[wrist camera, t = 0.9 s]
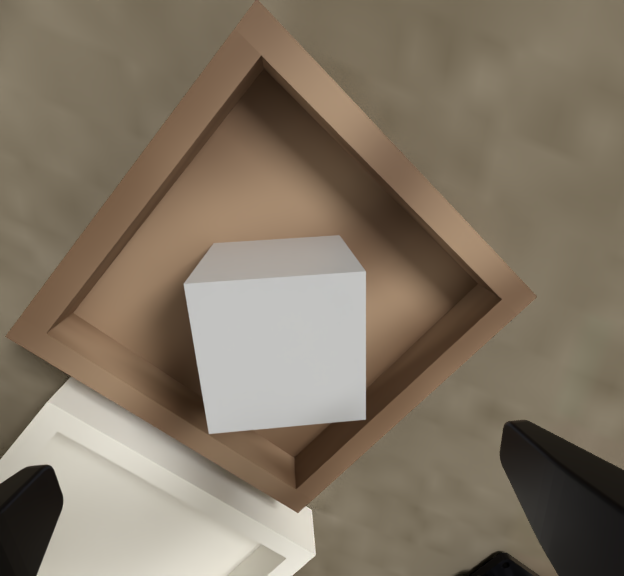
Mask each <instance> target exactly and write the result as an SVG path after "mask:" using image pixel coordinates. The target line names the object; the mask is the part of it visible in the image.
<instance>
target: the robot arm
mask: <svg viewBox="0 0 624 576" xmlns="http://www.w3.org/2000/svg"><path fill="white" fill-rule="evenodd" d="M500 460H501V463H502V466H503V468H504V470H505V473H506V475H507V477H508V479H509V481H510V483H511V485H512V487H513V489H514V491H515V493H516V496H517V498H518V500H519V502H520V504H521V506H522V508H523V510H524V512H525V514H526V517H527V519H528V521H529V523H530V525H531V527H532V529H533V531H534V533H535V535H536V537H537V539H538V541H539V543H540V545H541V546H542V548H543V550H544V552H545V553H546V555H547V557H548V559H549V560H550V562H551V564H552V565H553V567H554V569H555V570H556V572H557V574H558V575H559V576H624V470H623V469H621V468H619V467H617V466H615V465H613V464H611V463H609V462H607V461H605V460H603V459H601V458H599V457H597V456H595V455H594V454H592V453H590V452H588V451H586V450H584V449H582V448H580V447H578V446H576V445H574V444H572V443H570V442H568V441H566V440H565V439H563V438H561V437H559V436H557V435H555V434H553V433H551V432H549V431H547V430H545V429H543V428H541V427H539V426H537V425H536V424H534V423H532V422H530V421H527V420H516V421H508V422H506V423H505V425H504V428H503V434H502V441H501V447H500ZM63 501H64V500H63V494H62V491H61V488H60V485H59V482H58V479H57V476H56V474H55V471H54V469H53V467H52V466H50V465H47V464H45V465H34V466H28V467H25V468H23V469H21V470H20V471H18V472H17V473H15V474H14V475H12V476H11V477H9V478H8V479H6V480H5V481H3V482H2V483H0V576H37V574H38V571H39V568H40V566H41V563H42V561H43V558H44V555H45V553H46V550H47V548H48V545H49V542H50V540H51V537H52V535H53V532H54V529H55V527H56V524H57V522H58V519H59V516H60V514H61V511H62V508H63ZM470 576H539V575H538V574H536V573H535V572H533V571H532V570H531V569H529V568H528V567H526V566H525V565H524V564H522V563H521V562H519V561H518V560H516V559H515V558H514V557H512V556H511V555H509V554H508V553H500V554H498V555H497V556H495V557H494V558H493V559H491V560H490V561H489V562H487V563H486V564H485V565H483V566H482V567H481V568H479V569H478V570H477V571H475V572H474V573H473V574H471V575H470Z"/></svg>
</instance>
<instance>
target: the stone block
mask: <svg viewBox="0 0 624 576" xmlns="http://www.w3.org/2000/svg"><path fill="white" fill-rule="evenodd" d="M184 289H185V295H186V301H187V307H188V313H189V319H190V325H191V331H192V337H193V343H194V349H195V355H196V360H197V366H198V372H199V378H200V384H201V390H202V396H203V402H204V408H205V414H206V420H207V426H208V431H209V434H214V433H225V432H236V431H247V430H258V429H269V428H280V427H290V426H301V425H312V424H323V423H334V422H345V421H356V420H366V271H365V269H364V268H363V267H362V265H361V264H360V263H359V261H358V260H357V258H356V257H355V256H354V254H353V253H352V252H351V250H350V249H349V247H348V246H347V245H346V243H345V242H344V241H343V239H342V238H341V236H340V235H335V236H319V237H303V238H288V239H272V240H256V241H240V242H224V243H213V245H212V246H211V247H210V249H209V250H208V252H207V253H206V254H205V256H204V257H203V258H202V260H201V261H200V262H199V264H198V265H197V266H196V268H195V269H194V270H193V272H192V273H191V275H190V276H189V277H188V279H187V280H186V281H185V283H184Z"/></svg>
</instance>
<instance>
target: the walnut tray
mask: <svg viewBox="0 0 624 576" xmlns="http://www.w3.org/2000/svg"><path fill="white" fill-rule="evenodd" d="M335 235H340V236H341V238H342V239H343V241H344V242H345V243H346V245H347V246H348V247H349V249H350V250H351V252H352V253H353V254H354V256H355V257H356V258H357V260H358V261H359V263H360V264H361V265H362V267H363V268H364V269H365V271H366V420H356V421H345V422H334V423H323V424H312V425H301V426H290V427H280V428H269V429H258V430H247V431H236V432H225V433H214V434H209V431H208V426H207V420H206V414H205V408H204V402H203V396H202V390H201V384H200V378H199V372H198V366H197V360H196V355H195V349H194V343H193V337H192V331H191V325H190V319H189V313H188V307H187V301H186V295H185V289H184V283H185V281H186V280H187V279H188V277H189V276H190V275H191V273H192V272H193V270H194V269H195V268H196V266H197V265H198V264H199V262H200V261H201V260H202V258H203V257H204V256H205V254H206V253H207V252H208V250H209V249H210V247H211V246H212V245H213V243H224V242H240V241H256V240H272V239H288V238H303V237H319V236H335ZM535 298H537V296H536V295H535V294H534V293H533V292H532V291H531V290H530V288H529V287H528V286H527V285H526V284H525V283H524V282H523V281H522V280H521V279H520V278H519V277H518V276H517V275H516V274H515V273H514V271H513V270H512V269H511V268H510V267H509V266H508V265H507V264H506V263H505V262H504V261H503V260H502V259H501V258H500V257H499V256H498V254H497V253H496V252H495V251H494V250H493V249H492V248H491V247H490V246H489V245H488V244H487V243H486V242H485V241H484V240H483V238H482V237H481V236H480V235H479V234H478V233H477V232H476V231H475V230H474V229H473V228H472V227H471V226H470V225H469V224H468V223H467V221H466V220H465V219H464V218H463V217H462V216H461V215H460V214H459V213H458V212H457V211H456V210H455V209H454V208H453V207H452V206H451V204H450V203H449V202H448V201H447V200H446V199H445V198H444V197H443V196H442V195H441V194H440V193H439V192H438V191H437V190H436V189H435V187H434V186H433V185H432V184H431V183H430V182H429V181H428V180H427V179H426V178H425V177H424V176H423V175H422V174H421V173H420V172H419V170H418V169H417V168H416V167H415V166H414V165H413V164H412V163H411V162H410V161H409V160H408V159H407V158H406V157H405V156H404V155H403V153H402V152H401V151H400V150H399V149H398V148H397V147H396V146H395V145H394V144H393V143H392V142H391V141H390V140H389V139H388V138H387V136H386V135H385V134H384V133H383V132H382V131H381V130H380V129H379V128H378V127H377V126H376V125H375V124H374V123H373V122H372V121H371V119H370V118H369V117H368V116H367V115H366V114H365V113H364V112H363V111H362V110H361V109H360V108H359V107H358V106H357V105H356V104H355V102H354V101H353V100H352V99H351V98H350V97H349V96H348V95H347V94H346V93H345V92H344V91H343V90H342V89H341V88H340V87H339V85H338V84H337V83H336V82H335V81H334V80H333V79H332V78H331V77H330V76H329V75H328V74H327V73H326V72H325V71H324V70H323V68H322V67H321V66H320V65H319V64H318V63H317V62H316V61H315V60H314V59H313V58H312V57H311V56H310V55H309V54H308V53H307V51H306V50H305V49H304V48H303V47H302V46H301V45H300V44H299V43H298V42H297V41H296V40H295V39H294V38H293V37H292V36H291V34H290V33H289V32H288V31H287V30H286V29H285V28H284V27H283V26H282V25H281V24H280V23H279V22H278V21H277V20H276V19H275V17H274V16H273V15H272V14H271V13H270V12H269V11H268V10H267V9H266V8H265V7H264V6H263V5H262V4H261V3H260V2H259V0H255V2H254V3H253V4H252V6H251V7H250V8H249V10H248V11H247V12H246V14H245V15H244V16H243V18H242V19H241V20H240V22H239V23H238V25H237V26H236V27H235V29H234V30H233V31H232V33H231V34H230V35H229V37H228V38H227V39H226V41H225V42H224V43H223V45H222V46H221V47H220V49H219V50H218V51H217V53H216V54H215V55H214V57H213V58H212V59H211V61H210V62H209V63H208V65H207V66H206V67H205V69H204V70H203V72H202V73H201V74H200V76H199V77H198V78H197V80H196V81H195V82H194V84H193V85H192V86H191V88H190V89H189V90H188V92H187V93H186V94H185V96H184V97H183V98H182V100H181V101H180V102H179V104H178V105H177V106H176V108H175V109H174V110H173V112H172V113H171V115H170V116H169V117H168V119H167V120H166V121H165V123H164V124H163V125H162V127H161V128H160V129H159V131H158V132H157V133H156V135H155V136H154V137H153V139H152V140H151V141H150V143H149V144H148V145H147V147H146V148H145V149H144V151H143V152H142V153H141V155H140V156H139V158H138V159H137V160H136V162H135V163H134V164H133V166H132V167H131V168H130V170H129V171H128V172H127V174H126V175H125V176H124V178H123V179H122V180H121V182H120V183H119V184H118V186H117V187H116V188H115V190H114V191H113V192H112V194H111V195H110V196H109V198H108V199H107V201H106V202H105V203H104V205H103V206H102V207H101V209H100V210H99V211H98V213H97V214H96V215H95V217H94V218H93V219H92V221H91V222H90V223H89V225H88V226H87V227H86V229H85V230H84V231H83V233H82V234H81V235H80V237H79V238H78V239H77V241H76V242H75V244H74V245H73V246H72V248H71V249H70V250H69V252H68V253H67V254H66V256H65V257H64V258H63V260H62V261H61V262H60V264H59V265H58V266H57V268H56V269H55V270H54V272H53V273H52V274H51V276H50V277H49V278H48V280H47V281H46V282H45V284H44V285H43V286H42V288H41V289H40V291H39V292H38V293H37V295H36V296H35V297H34V299H33V300H32V301H31V303H30V304H29V305H28V307H27V308H26V309H25V311H24V312H23V313H22V315H21V316H20V317H19V319H18V320H17V321H16V323H15V324H14V325H13V327H12V328H11V329H10V331H9V332H8V334H7V335H6V336H5V337H7V338H9V339H10V340H12V341H13V342H15V343H17V344H18V345H20V346H22V347H23V348H25V349H27V350H28V351H30V352H32V353H33V354H35V355H37V356H38V357H40V358H42V359H43V360H45V361H47V362H48V363H50V364H52V365H53V366H55V367H57V368H58V369H60V370H61V371H63V372H65V373H66V374H68V375H70V376H71V377H73V378H75V379H76V380H78V381H80V382H81V383H83V384H85V385H86V386H88V387H90V388H91V389H93V390H95V391H96V392H98V393H100V394H101V395H103V396H105V397H106V398H108V399H110V400H111V401H113V402H114V403H116V404H118V405H119V406H121V407H123V408H124V409H126V410H128V411H129V412H131V413H133V414H134V415H136V416H138V417H139V418H141V419H143V420H144V421H146V422H148V423H149V424H151V425H153V426H154V427H156V428H158V429H159V430H161V431H162V432H164V433H166V434H167V435H169V436H171V437H172V438H174V439H176V440H177V441H179V442H181V443H182V444H184V445H186V446H187V447H189V448H191V449H192V450H194V451H196V452H197V453H199V454H201V455H202V456H204V457H206V458H207V459H209V460H211V461H212V462H214V463H215V464H217V465H219V466H220V467H222V468H224V469H225V470H227V471H229V472H230V473H232V474H234V475H235V476H237V477H239V478H240V479H242V480H244V481H245V482H247V483H249V484H250V485H252V486H254V487H255V488H257V489H259V490H260V491H262V492H264V493H265V494H267V495H268V496H270V497H272V498H273V499H275V500H277V501H278V502H280V503H282V504H283V505H285V506H287V507H288V508H290V509H292V510H293V511H295V512H297V513H299V512H300V511H301V510H302V509H303V508H304V507H305V506H306V505H308V504H309V503H310V502H311V501H312V500H313V499H314V498H315V497H316V496H317V495H319V494H320V493H321V492H322V491H323V490H324V489H325V488H326V487H327V486H329V485H330V484H331V483H332V482H333V481H334V480H335V479H336V478H337V477H339V476H340V475H341V474H342V473H343V472H344V471H345V470H346V469H347V468H348V467H350V466H351V465H352V464H353V463H354V462H355V461H356V460H357V459H358V458H360V457H361V456H362V455H363V454H364V453H365V452H366V451H367V450H368V449H369V448H371V447H372V446H373V445H374V444H375V443H376V442H377V441H378V440H379V439H381V438H382V437H383V436H384V435H385V434H386V433H387V432H388V431H389V430H391V429H392V428H393V427H394V426H395V425H396V424H397V423H398V422H399V421H400V420H402V419H403V418H404V417H405V416H406V415H407V414H408V413H409V412H410V411H412V410H413V409H414V408H415V407H416V406H417V405H418V404H419V403H420V402H421V401H423V400H424V399H425V398H426V397H427V396H428V395H429V394H430V393H431V392H433V391H434V390H435V389H436V388H437V387H438V386H439V385H440V384H441V383H443V382H444V381H445V380H446V379H447V378H448V377H449V376H450V375H451V374H452V373H454V372H455V371H456V370H457V369H458V368H459V367H460V366H461V365H462V364H464V363H465V362H466V361H467V360H468V359H469V358H470V357H471V356H472V355H473V354H475V353H476V352H477V351H478V350H479V349H480V348H481V347H482V346H483V345H485V344H486V343H487V342H488V341H489V340H490V339H491V338H492V337H493V336H495V335H496V334H497V333H498V332H499V331H500V330H501V329H502V328H503V327H504V326H506V325H507V324H508V323H509V322H510V321H511V320H512V319H513V318H514V317H516V316H517V315H518V314H519V313H520V312H521V311H522V310H523V309H524V308H525V307H527V306H528V305H529V304H530V303H531V302H532V301H533V300H534V299H535Z"/></svg>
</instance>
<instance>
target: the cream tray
mask: <svg viewBox="0 0 624 576" xmlns="http://www.w3.org/2000/svg"><path fill="white" fill-rule="evenodd" d="M45 464H47V465H50V466H52V467H53V469H54V471H55V474H56V476H57V479H58V482H59V485H60V488H61V491H62V494H63V500H64V501H63V508H62V511H61V514H60V516H59V519H58V522H57V524H56V527H55V529H54V532H53V535H52V537H51V540H50V542H49V545H48V548H47V550H46V553H45V555H44V558H43V561H42V563H41V566H40V568H39V571H38V574H37V576H292V575H293V574H294V573H296V572H297V571H298V570H299V569H300V568H301V567H302V566H304V565H305V564H306V563H307V562H308V561H309V560H311V559H312V558H313V557H314V556H315V555H316V551H315V540H314V529H313V517H312V510H311V509H310V508H308V507H306V506H305V507H304V508H303V509H302V510H301V511H300V512H299V513H297V512H295V511H293V510H292V509H290V508H288V507H287V506H285V505H283V504H282V503H280V502H278V501H277V500H275V499H273V498H272V497H270V496H268V495H267V494H265V493H264V492H262V491H260V490H259V489H257V488H255V487H254V486H252V485H250V484H249V483H247V482H245V481H244V480H242V479H240V478H239V477H237V476H235V475H234V474H232V473H230V472H229V471H227V470H225V469H224V468H222V467H220V466H219V465H217V464H215V463H214V462H212V461H211V460H209V459H207V458H206V457H204V456H202V455H201V454H199V453H197V452H196V451H194V450H192V449H191V448H189V447H187V446H186V445H184V444H182V443H181V442H179V441H177V440H176V439H174V438H172V437H171V436H169V435H167V434H166V433H164V432H162V431H161V430H159V429H158V428H156V427H154V426H153V425H151V424H149V423H148V422H146V421H144V420H143V419H141V418H139V417H138V416H136V415H134V414H133V413H131V412H129V411H128V410H126V409H124V408H123V407H121V406H119V405H118V404H116V403H114V402H113V401H111V400H110V399H108V398H106V397H105V396H103V395H101V394H100V393H98V392H96V391H95V390H93V389H91V388H90V387H88V386H86V385H85V384H83V383H81V382H80V381H78V380H76V379H75V378H73V377H70V378H69V379H68V380H67V381H66V382H65V384H64V385H63V386H62V387H61V388H60V389H59V390H58V391H57V392H56V393H55V394H54V395H53V396H52V397H51V398H50V400H49V401H48V402H47V403H46V404H45V405H44V407H43V408H42V409H41V410H40V411H39V413H38V414H37V415H36V416H35V418H34V419H33V420H32V421H31V423H30V424H29V425H28V426H27V427H26V429H25V430H24V431H23V432H22V434H21V435H20V436H19V437H18V438H17V440H16V441H15V442H14V443H13V445H12V446H11V447H10V448H9V450H8V451H7V452H6V453H5V454H4V456H3V457H2V458H1V459H0V483H2V482H3V481H5V480H6V479H8V478H9V477H11V476H12V475H14V474H15V473H17V472H18V471H20V470H21V469H23V468H25V467H28V466H34V465H45Z"/></svg>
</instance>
